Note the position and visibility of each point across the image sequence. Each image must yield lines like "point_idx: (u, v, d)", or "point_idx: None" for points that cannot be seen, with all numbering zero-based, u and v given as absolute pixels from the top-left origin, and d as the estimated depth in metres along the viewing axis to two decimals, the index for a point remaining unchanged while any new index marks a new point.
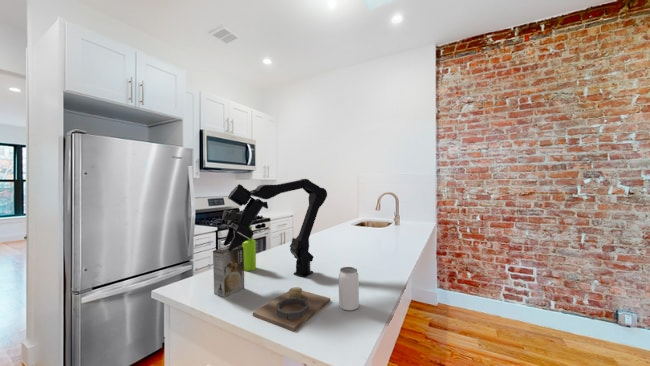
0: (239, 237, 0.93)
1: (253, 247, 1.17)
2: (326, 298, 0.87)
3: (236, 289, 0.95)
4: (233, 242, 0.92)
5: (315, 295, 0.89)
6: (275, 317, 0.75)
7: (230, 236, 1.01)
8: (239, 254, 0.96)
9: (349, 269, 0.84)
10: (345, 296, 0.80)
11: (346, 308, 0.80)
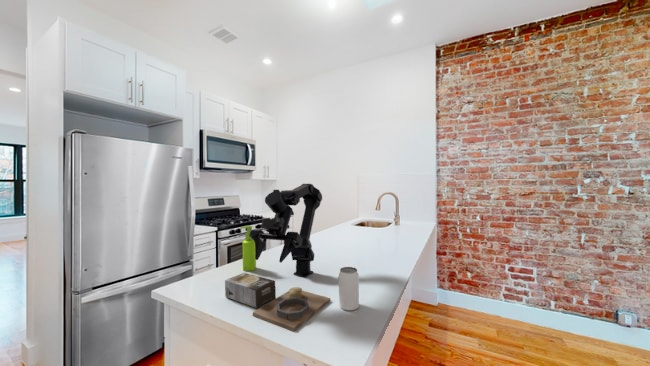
0: (288, 246, 0.87)
1: (253, 247, 1.17)
2: (326, 298, 0.87)
3: None
4: (285, 252, 0.85)
5: (315, 295, 0.89)
6: (275, 317, 0.75)
7: (260, 249, 0.89)
8: None
9: (349, 269, 0.84)
10: (345, 296, 0.80)
11: (346, 308, 0.80)
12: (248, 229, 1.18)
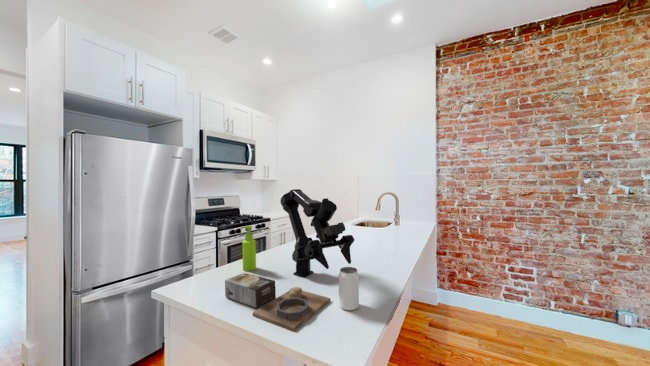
0: None
1: (253, 247, 1.17)
2: (326, 298, 0.87)
3: None
4: None
5: (315, 295, 0.89)
6: (275, 317, 0.75)
7: None
8: None
9: (349, 269, 0.84)
10: (345, 296, 0.80)
11: (346, 308, 0.80)
12: (248, 229, 1.18)
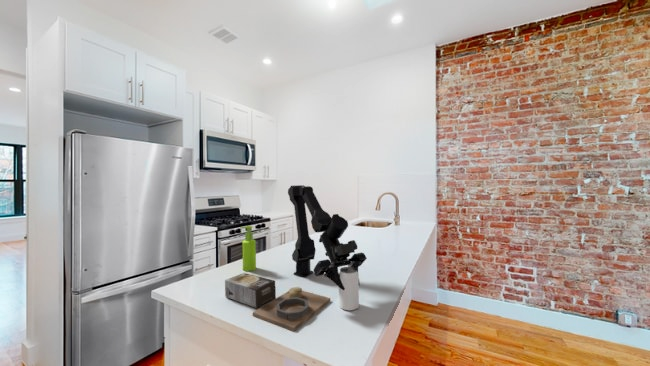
0: None
1: (253, 247, 1.17)
2: (326, 298, 0.87)
3: None
4: None
5: (315, 295, 0.89)
6: (275, 317, 0.75)
7: None
8: None
9: (349, 269, 0.84)
10: (345, 296, 0.80)
11: (346, 308, 0.80)
12: (248, 229, 1.18)
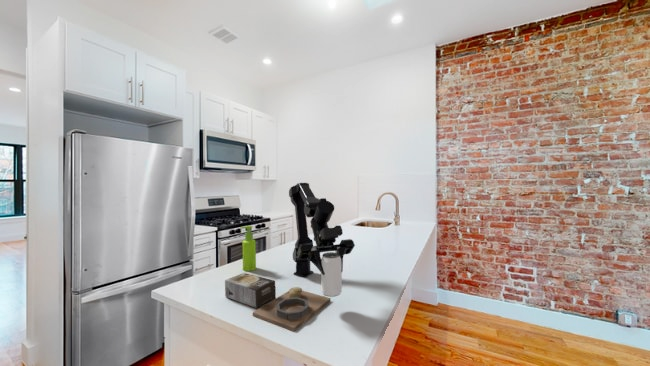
0: None
1: (253, 247, 1.17)
2: (326, 298, 0.87)
3: None
4: None
5: (315, 295, 0.89)
6: (275, 317, 0.75)
7: None
8: None
9: (333, 254, 0.82)
10: (325, 281, 0.78)
11: (326, 293, 0.78)
12: (248, 229, 1.18)
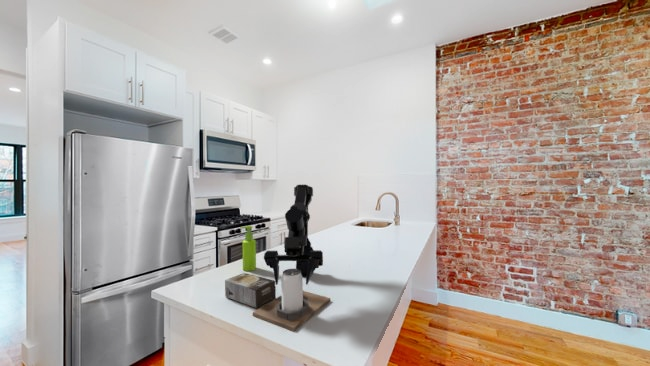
0: None
1: (253, 247, 1.17)
2: (326, 298, 0.87)
3: None
4: (310, 272, 0.79)
5: (315, 295, 0.89)
6: (275, 317, 0.75)
7: (277, 272, 0.80)
8: None
9: (295, 271, 0.80)
10: (282, 297, 0.77)
11: (283, 310, 0.77)
12: (248, 229, 1.18)
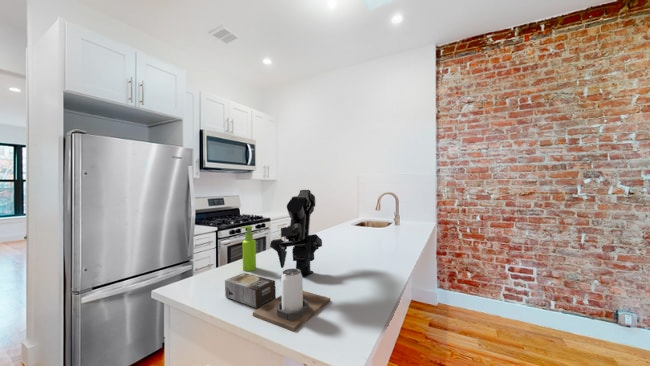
0: (310, 249, 0.90)
1: (253, 247, 1.17)
2: (326, 298, 0.87)
3: None
4: (308, 255, 0.88)
5: (315, 295, 0.89)
6: (275, 317, 0.75)
7: (283, 257, 0.92)
8: None
9: (295, 271, 0.80)
10: (282, 297, 0.77)
11: (283, 310, 0.77)
12: (248, 229, 1.18)
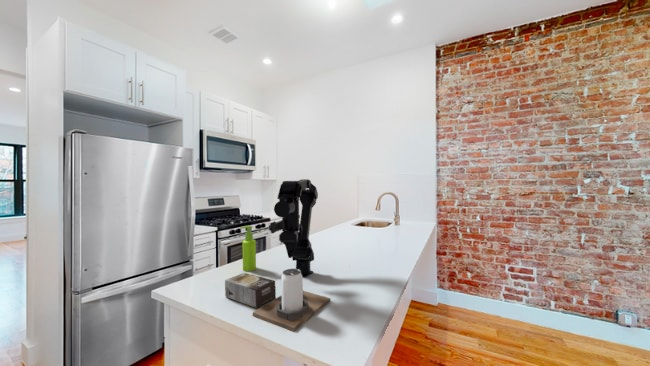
0: (290, 242, 0.92)
1: (253, 247, 1.17)
2: (326, 298, 0.87)
3: None
4: (288, 249, 0.92)
5: (315, 295, 0.89)
6: (275, 317, 0.75)
7: None
8: None
9: (295, 271, 0.80)
10: (282, 297, 0.77)
11: (283, 310, 0.77)
12: (248, 229, 1.18)
